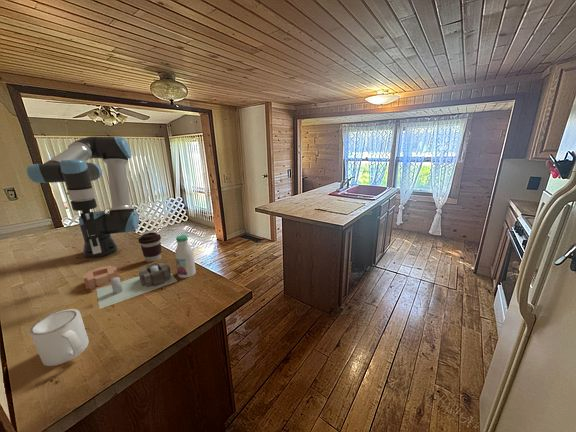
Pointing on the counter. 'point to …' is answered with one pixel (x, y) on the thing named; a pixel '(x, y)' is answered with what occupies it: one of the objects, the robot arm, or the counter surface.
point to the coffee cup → (151, 246)
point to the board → (126, 289)
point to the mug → (60, 337)
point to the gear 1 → (99, 276)
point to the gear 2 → (155, 275)
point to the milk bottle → (184, 258)
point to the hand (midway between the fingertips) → (95, 247)
